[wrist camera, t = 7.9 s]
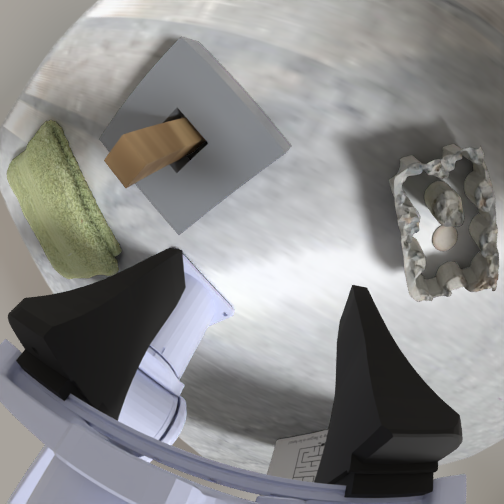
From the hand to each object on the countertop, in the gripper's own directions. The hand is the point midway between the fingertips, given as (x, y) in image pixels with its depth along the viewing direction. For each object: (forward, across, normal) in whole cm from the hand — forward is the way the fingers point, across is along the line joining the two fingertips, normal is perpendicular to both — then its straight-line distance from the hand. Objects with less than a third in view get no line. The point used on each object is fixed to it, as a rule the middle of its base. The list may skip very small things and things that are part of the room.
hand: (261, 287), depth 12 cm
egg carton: (+10, -11, -1) cm, 15 cm away
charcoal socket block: (+10, +8, -4) cm, 13 cm away
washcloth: (+11, +25, +4) cm, 27 cm away
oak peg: (+10, +8, -4) cm, 13 cm away
